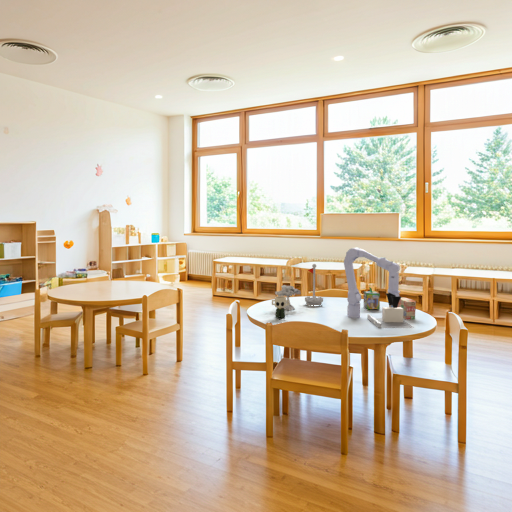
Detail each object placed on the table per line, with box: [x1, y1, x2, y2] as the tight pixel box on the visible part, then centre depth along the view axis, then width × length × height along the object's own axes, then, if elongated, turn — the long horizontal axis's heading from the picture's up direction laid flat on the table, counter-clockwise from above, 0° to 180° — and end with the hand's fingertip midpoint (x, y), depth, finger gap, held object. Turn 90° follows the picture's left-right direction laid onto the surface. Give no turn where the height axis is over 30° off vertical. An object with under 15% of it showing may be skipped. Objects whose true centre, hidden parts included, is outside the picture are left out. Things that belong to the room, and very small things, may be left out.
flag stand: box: [304, 263, 324, 307], centre depth 295 cm, size 13×13×30 cm
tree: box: [274, 284, 302, 311], centre depth 281 cm, size 18×16×17 cm
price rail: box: [366, 313, 382, 329], centre depth 239 cm, size 22×2×2 cm, turn 0°
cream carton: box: [381, 306, 404, 322], centre depth 243 cm, size 5×11×8 cm, turn 90°
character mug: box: [271, 295, 290, 319], centre depth 256 cm, size 11×7×13 cm, turn 83°
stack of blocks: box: [388, 297, 417, 320], centre depth 258 cm, size 21×6×12 cm, turn 10°
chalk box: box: [363, 286, 381, 310], centre depth 283 cm, size 9×9×15 cm
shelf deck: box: [373, 317, 414, 329], centre depth 239 cm, size 22×20×1 cm
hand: (392, 306), depth 242 cm, fingers open, 7 cm apart
